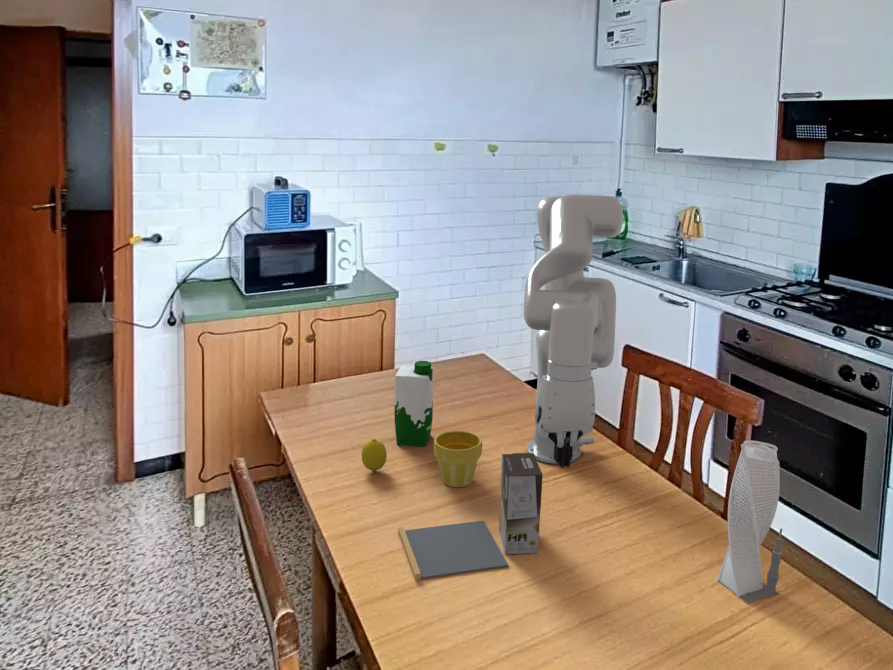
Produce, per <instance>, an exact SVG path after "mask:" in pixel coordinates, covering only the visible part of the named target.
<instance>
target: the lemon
mask: <svg viewBox="0 0 893 670" xmlns="http://www.w3.org/2000/svg"><path fill="white" fill-rule="evenodd" d="M387 456H388V455H387V449H386V446H385V444H384V443H383V442H382V441H381V440H379V439H376V438H372V439H369V440H367V441H366V442H365V443H364V444H363V446H362V449H361V461H362V464H363V466H364V468H366V469H368V470H369V471H371V472H375V473H376V472H377V471H379V470H380V469H382V468H383V467H384V466H385V464H386V462H387Z"/></svg>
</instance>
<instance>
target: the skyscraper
mask: <svg viewBox="0 0 893 670" xmlns="http://www.w3.org/2000/svg"><path fill="white" fill-rule="evenodd" d="M740 447H741V449H740V450H741V451H740V454H739V456H738V460H737V463H736V466H735V470H734V471H733V472H734V473H733V477H732V481H731V485H730V490H729V496H728V503H727V505H728V506H727V537H728V547H727V550H726V553H725V556H724V559H723V561H722V564H721V567H720V570H719V573H718V575H717V578H716V581H717V582H719V584H721V585H722V586H724V588H726V589H727V590H728V589H729V590H728V591H730V592H731V591H732V592H733V593H732V592H731V593H732V594H734V595H735V596H736V595H737V596H738V599H740V600H741V599H742V600H743V601H742V600H741V601H742V602H744V603H745V604H746V603H747V604H746V605H750V604H753V603H756V602H758V600H759V601H762V600H765V599H768V598H771V597H774V596H776V595H777V596H778V595H779V592H777V588H776V587H777V585H778V581H779V577H780V575H779V567H780V564H781V563H780V562H781V559H782V556H783V553H782V551H781V547H782V546H781V545H782V542H783V538H782V533H783V528H779V533H778V536H777V537H776V545H775V549H772V551H771V559H770V567H769V570H768V572H767V575H766V576H767V577H766V579H767V580H766V583H765V582H764V581H763V572H762V562H761V561H762V560H761V550H760V549H761V546H762V543H763V542H764V540H765V538H766V536H767V535H768V533H769V530H770V529H771V526H772V524H773V521H774V519H775V516H776V512H777V509H778V505H779V498H780V485H781V484H780V482H781V478H780V477H781V476H780V475H781V474H780V473H781V471H780V461H779V459H778V453H777V452H778V450H779V449H778V447H777V446H776V445H775V444H772V443H768V442H763V441H759V440H750V439H748V440H744V441H743V443H740ZM737 596H736V597H737ZM755 601H756V602H755ZM752 602H753V603H752ZM749 603H750V604H749Z"/></svg>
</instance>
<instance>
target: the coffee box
mask: <svg viewBox="0 0 893 670" xmlns="http://www.w3.org/2000/svg"><path fill="white" fill-rule="evenodd" d="M500 469H501V472H500V495H499V497H500V500H499V502H500V503H499V521H498V522H499V523H498V531H499V535H500V539H501V542H502V546H503V550H504V554H505V555H520V554H521V555H522V554H523V555H524V554H538V551H539V541H540V540H539V539H540V538H539V537H540V526H541V525H540V522H541V521H540V520H541V510H542V509H541V507H542V491H543V472H542V470H541V468H540V465H539V464H538V460H536V458H535V455H534V453H528V452H519V453H518V452H515V453H502V454H501V468H500Z"/></svg>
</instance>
